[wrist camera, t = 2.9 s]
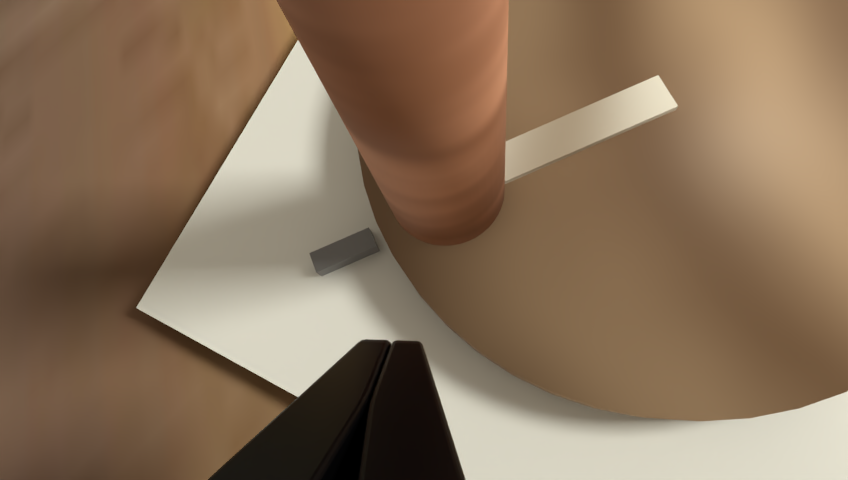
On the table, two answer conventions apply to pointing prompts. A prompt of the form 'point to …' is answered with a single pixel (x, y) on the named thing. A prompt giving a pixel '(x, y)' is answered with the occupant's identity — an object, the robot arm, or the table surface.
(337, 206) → the dial plate
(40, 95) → the table surface
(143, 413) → the table surface
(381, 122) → the dial
